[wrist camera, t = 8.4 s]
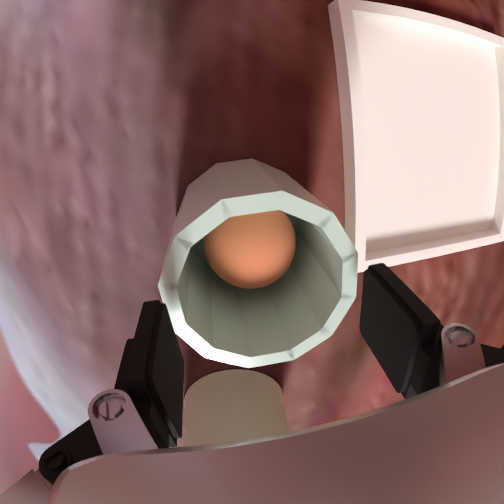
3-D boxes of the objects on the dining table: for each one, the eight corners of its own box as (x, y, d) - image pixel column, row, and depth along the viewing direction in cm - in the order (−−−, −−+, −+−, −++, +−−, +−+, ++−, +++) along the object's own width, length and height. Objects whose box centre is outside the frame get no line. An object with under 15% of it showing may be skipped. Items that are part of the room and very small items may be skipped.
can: (209, 436, 30) (217, 537, 19) (165, 385, 26) (159, 508, 15) (292, 412, 30) (322, 515, 19) (265, 354, 26) (297, 483, 15)
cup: (300, 153, 19) (358, 182, 12) (306, 269, 23) (351, 346, 15) (167, 171, 19) (139, 213, 11) (191, 288, 22) (187, 376, 15)
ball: (277, 182, 19) (306, 204, 15) (284, 256, 21) (310, 295, 17) (195, 196, 19) (199, 222, 14) (209, 270, 21) (217, 314, 16)
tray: (493, 40, 16) (507, 39, 15) (491, 233, 24) (503, 240, 22) (327, 5, 15) (337, -3, 14) (344, 261, 23) (354, 273, 21)
